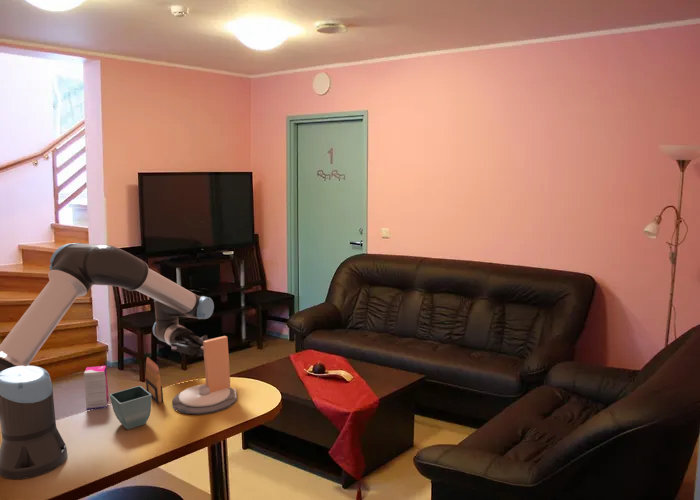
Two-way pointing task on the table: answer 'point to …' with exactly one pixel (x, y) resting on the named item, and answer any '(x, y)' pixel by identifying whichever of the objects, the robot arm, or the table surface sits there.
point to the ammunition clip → (153, 381)
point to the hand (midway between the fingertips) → (212, 355)
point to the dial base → (207, 409)
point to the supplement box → (96, 387)
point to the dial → (211, 376)
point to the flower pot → (132, 406)
